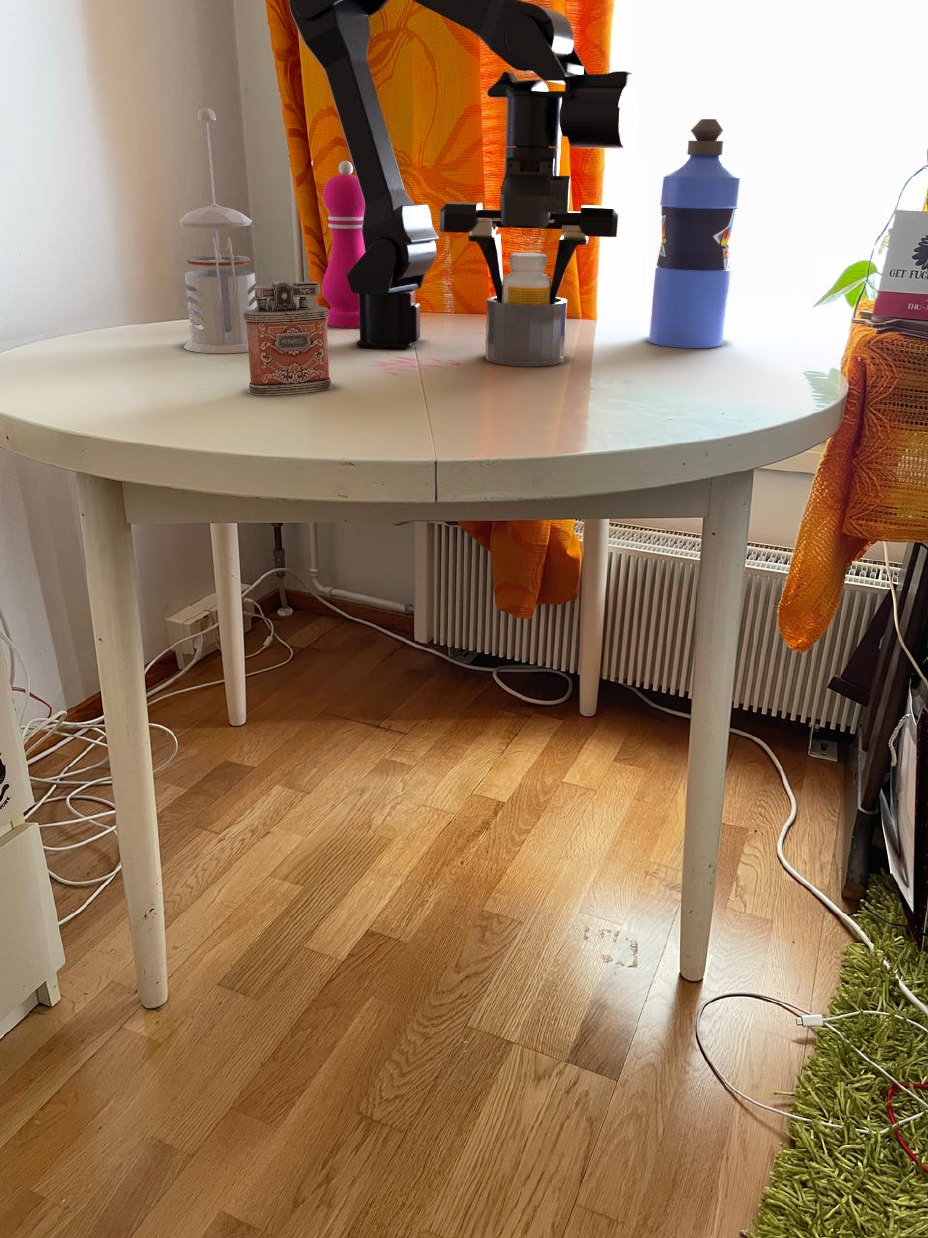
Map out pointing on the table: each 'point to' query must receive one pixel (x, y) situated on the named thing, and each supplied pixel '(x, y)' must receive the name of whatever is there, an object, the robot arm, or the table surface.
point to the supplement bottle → (527, 280)
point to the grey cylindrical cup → (525, 333)
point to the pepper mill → (343, 246)
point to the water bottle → (695, 245)
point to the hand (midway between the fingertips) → (525, 303)
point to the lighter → (287, 341)
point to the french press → (218, 280)
